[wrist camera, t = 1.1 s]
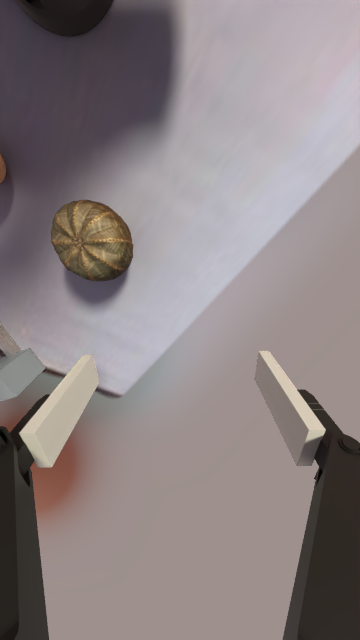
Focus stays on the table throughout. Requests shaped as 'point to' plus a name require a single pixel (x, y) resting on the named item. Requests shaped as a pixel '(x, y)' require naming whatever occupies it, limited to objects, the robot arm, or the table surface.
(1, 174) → the egg
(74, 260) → the shell
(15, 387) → the cabinet
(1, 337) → the rails
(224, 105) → the table surface
